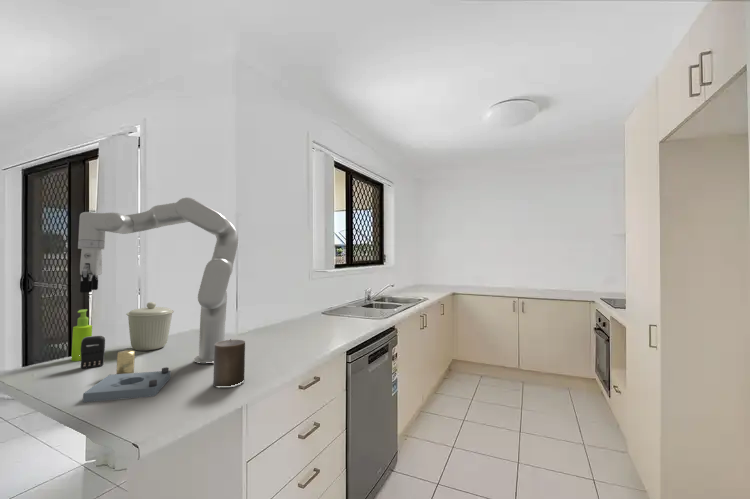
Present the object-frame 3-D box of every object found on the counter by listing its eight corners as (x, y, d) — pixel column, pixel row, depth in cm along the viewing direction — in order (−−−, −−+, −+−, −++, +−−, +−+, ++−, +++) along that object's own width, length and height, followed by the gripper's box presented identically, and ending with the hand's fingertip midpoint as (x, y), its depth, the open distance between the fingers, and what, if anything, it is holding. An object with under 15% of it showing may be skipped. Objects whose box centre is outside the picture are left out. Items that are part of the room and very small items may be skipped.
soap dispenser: (68, 362, 129) (70, 311, 130) (74, 357, 136) (76, 308, 136) (87, 360, 132) (89, 310, 133) (92, 356, 138) (94, 308, 139)
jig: (170, 377, 116) (170, 366, 116) (154, 396, 101) (155, 382, 101) (109, 382, 111) (109, 370, 111) (82, 402, 95) (83, 388, 95)
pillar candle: (249, 383, 112) (250, 339, 113) (219, 391, 105) (221, 343, 106) (237, 376, 119) (238, 334, 120) (208, 383, 112) (210, 338, 113)
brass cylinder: (136, 371, 121) (137, 349, 121) (130, 376, 116) (131, 353, 117) (120, 372, 120) (121, 350, 120) (113, 377, 115) (114, 354, 115)
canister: (119, 355, 140) (121, 305, 141) (130, 344, 157) (132, 300, 157) (168, 351, 147) (170, 304, 148) (175, 341, 164) (176, 299, 165)
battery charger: (79, 370, 121) (80, 338, 122) (80, 367, 124) (81, 336, 125) (103, 366, 125) (105, 336, 126) (104, 364, 129) (105, 334, 129)
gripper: (99, 245, 119) (97, 293, 118) (108, 246, 134) (106, 288, 133) (71, 244, 115) (69, 293, 114) (84, 245, 130) (82, 289, 129)
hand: (89, 291), depth 124 cm, fingers open, 9 cm apart
